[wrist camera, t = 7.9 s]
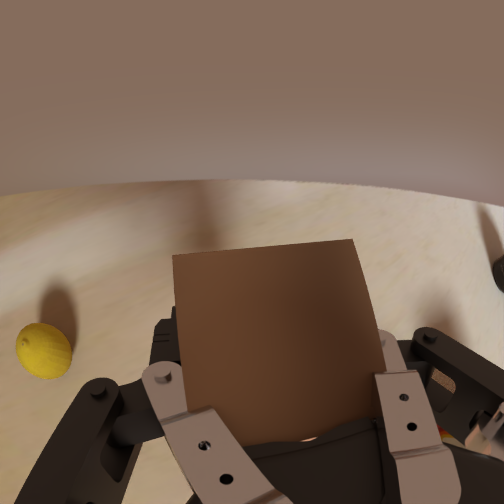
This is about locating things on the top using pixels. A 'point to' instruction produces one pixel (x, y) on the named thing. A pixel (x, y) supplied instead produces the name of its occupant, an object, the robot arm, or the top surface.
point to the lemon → (43, 350)
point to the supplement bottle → (499, 272)
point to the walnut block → (277, 338)
